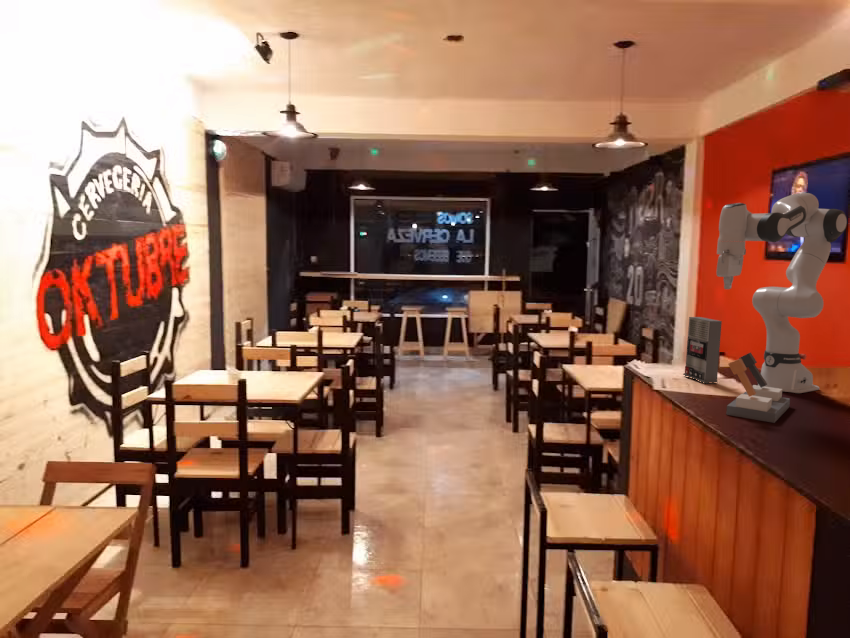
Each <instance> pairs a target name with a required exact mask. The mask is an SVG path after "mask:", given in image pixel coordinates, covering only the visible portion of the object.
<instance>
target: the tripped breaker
mask: <svg viewBox="0 0 850 638" xmlns="http://www.w3.org/2000/svg"><path fill="white" fill-rule="evenodd" d="M739 358H740V357H739ZM739 358H738V359H736V360H733V361H731V362H729V363H728V366H729V368H730V370H731V372H732V373H733V375H734V376H735V375H737V376H738V379H739V380H740V382H741V384H742V386H743V388H744V390H745V392H747V394H748V396H749V397H750V396H752V395H755V394H756V392H755V390H754V388H753V385H752V383H751V380H750V379H749V377H748V375H747V373H746V371H747V370H748V367H747V368H746V366H745V364H744V363H743V361H742V359H741V358H740V359H739Z"/></svg>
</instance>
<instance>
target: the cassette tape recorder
mask: <svg viewBox="0 0 850 638" xmlns="http://www.w3.org/2000/svg"><path fill="white" fill-rule="evenodd" d="M722 325H723V321H722V320H719V319H714V318H713V319H712V318H708V317H702V316H689V317H688V328H687V329H688V330H687V341H686V343H687V344H686V356H685V366H684V373H683V375H685V376H689V377H692V378H694V379H697V380H699V381H701V382H700V383H702V382H704V383H706V384H709V383H708V382H717V383H718V373H719V359H720V349H721V347H720V346H721V335H722V334H721V333H722ZM685 376H684V377H685ZM699 381H698V382H699ZM704 383H703V384H704Z"/></svg>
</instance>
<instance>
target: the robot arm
mask: <svg viewBox="0 0 850 638" xmlns="http://www.w3.org/2000/svg"><path fill="white" fill-rule="evenodd" d="M819 206H820V205H819V200H818V198H817V196H816V195H814V194H812V193H809V192H799V193H794V194H790V195H788V196H785V197H783V198H780V199H779V200H777V201H775V202H774V204H773V205H772V208H771V212H767V213H766V212H764V213H752V212H751V211H750V210H748V209H747V204H746V203H743V202H735V203H728V204H725V205H724V206H723V207H722V209H721V212H720V215H719V222H718V231H719V232H718V233H719V236H718V238H717V246H716V247H717V248H716V255H719V256H718V258H717V264H716V276H717V277H720V278H721V277H722V278H723V288H724V290H731V289H732V284H733V281H734V277H736V276H740V275H741V274H742V270H743V265H744V256H745V255H746V252H747V249H746V242H768V243H777V242H780V241H781V240H782V239H783V238H784V237H785V236H786V235H787V236H789V237H793V238H804V241H803V242H802V244H800V246H799V248H798V249H797V251H796V252H795V254H794V255H793V257H792V259H791V261H790V262H789V265H788V266H787V268H786V270H785V275H786V278H787V280H788V281H789V282H790V283H791V286H789V287H785V286H784V287H783V286H765V287H759V288H758V289H756V291H755V292H754V293H753V295H752V299H751V300H752V301H751V302H752V306H753V308H754V309H755V311H757V313H759V315H760V316H761V318H762V321H763V322H764V325H765V330H766V343H765V345H766V346H765V350H764V353H763V360H764V362H763V363H762V365H761V368H760V369H761V370H760V373H761V375H762V377H763V378H764V380H765V381H766V383H767V385H766V386H765V387H772V388H779V389H782V392H788V393H793V394H794V393H795V394H802V393H808V392H814V391H818V390H820V386H818V385H816V384H814V375H813V373H812V372H811V371H810V370H809V369H808V368H807V367H806V366H805V365H803V364H802V360H806V359H807V354H805V353H799V350H800V341H801V335H800V332H799V330H798V329H797V328H796V327H794V326H793V325H792V324H791V323H790V321H789V318H797V319H810V318H816V317H817V316H818V315H820V314H821V312H822V311H823V309H824V302H825V301H824V298H823V297H822V294H821V293H819V291H818V290H817V283H818V280H819V278H820V275H821V274H822V273H823V272H822V271H823V270H824V268H825V266H826V264H827V262H828V259H829V256H830V254H831V251H832V250H831V249H832V244H831V243H833V242H835V241H837V240H838V238H839V237H840V236H841V235H842V234H843V233H844V232H845V231H846V229H847V226H848V217H847V215H846V213H845V212H844V211H843V210H841V209H837V208H819ZM756 382H757V381H756ZM757 385H758V386H760V385H759V384H758V382H757Z"/></svg>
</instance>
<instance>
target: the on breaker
mask: <svg viewBox="0 0 850 638" xmlns="http://www.w3.org/2000/svg"><path fill="white" fill-rule="evenodd" d="M740 358H741V359H742V361H743V363H744V364H745V366H746V368H747V369H749V371H750V373H751V374H752V376H753V377H754V379H755V380H756V382H758V383H757V385H758V384H759V385H760V387H764V386H766V385H767V383H766V381H765V380H764V378H763V377H762V375H761V371H759V368H758V367H757V366H756V364H757V363H758V361H757V360H756V358H755V357H754V355H753V354H752V352H748V353H746V354H745V355H742V356H740V357H739V358H738V359H740Z"/></svg>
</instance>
